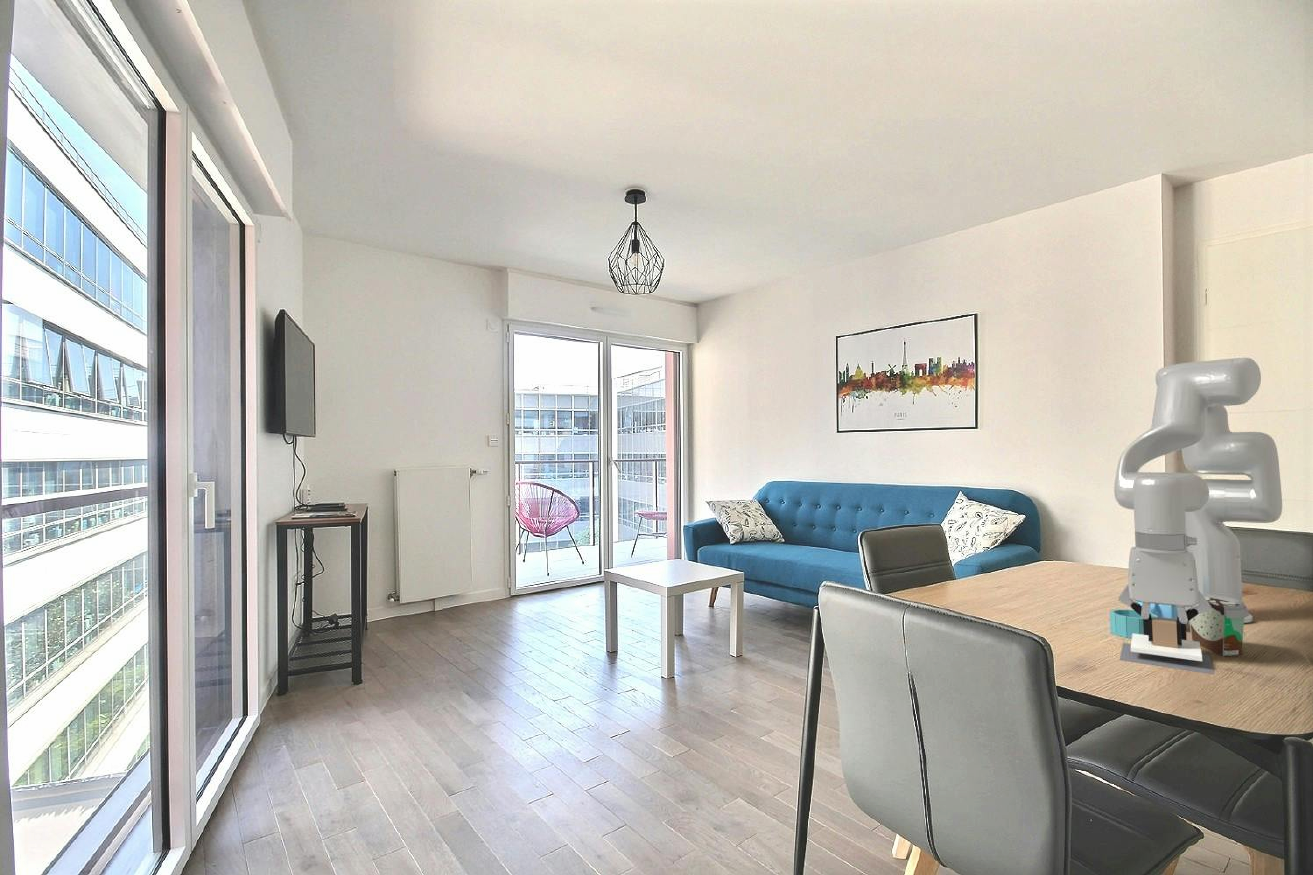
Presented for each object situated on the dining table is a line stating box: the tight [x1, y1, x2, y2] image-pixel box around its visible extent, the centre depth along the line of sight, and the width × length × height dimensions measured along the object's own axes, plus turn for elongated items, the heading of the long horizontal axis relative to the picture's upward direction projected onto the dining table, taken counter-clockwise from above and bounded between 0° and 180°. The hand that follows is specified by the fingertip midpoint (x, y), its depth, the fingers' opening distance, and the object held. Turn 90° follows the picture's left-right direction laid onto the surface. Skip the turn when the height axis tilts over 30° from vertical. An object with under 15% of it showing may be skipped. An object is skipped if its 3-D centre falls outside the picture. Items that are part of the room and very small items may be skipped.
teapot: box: [1135, 601, 1178, 620], centre depth 140 cm, size 12×6×8 cm, turn 131°
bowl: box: [1109, 608, 1158, 639], centre depth 132 cm, size 8×8×5 cm
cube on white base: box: [1130, 617, 1203, 661], centre depth 118 cm, size 10×10×5 cm
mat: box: [1119, 642, 1215, 675], centre depth 117 cm, size 13×13×1 cm
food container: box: [1188, 594, 1250, 658], centre depth 121 cm, size 12×6×10 cm, turn 168°
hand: (1165, 640), depth 118 cm, fingers closed on cube on white base, 3 cm apart
